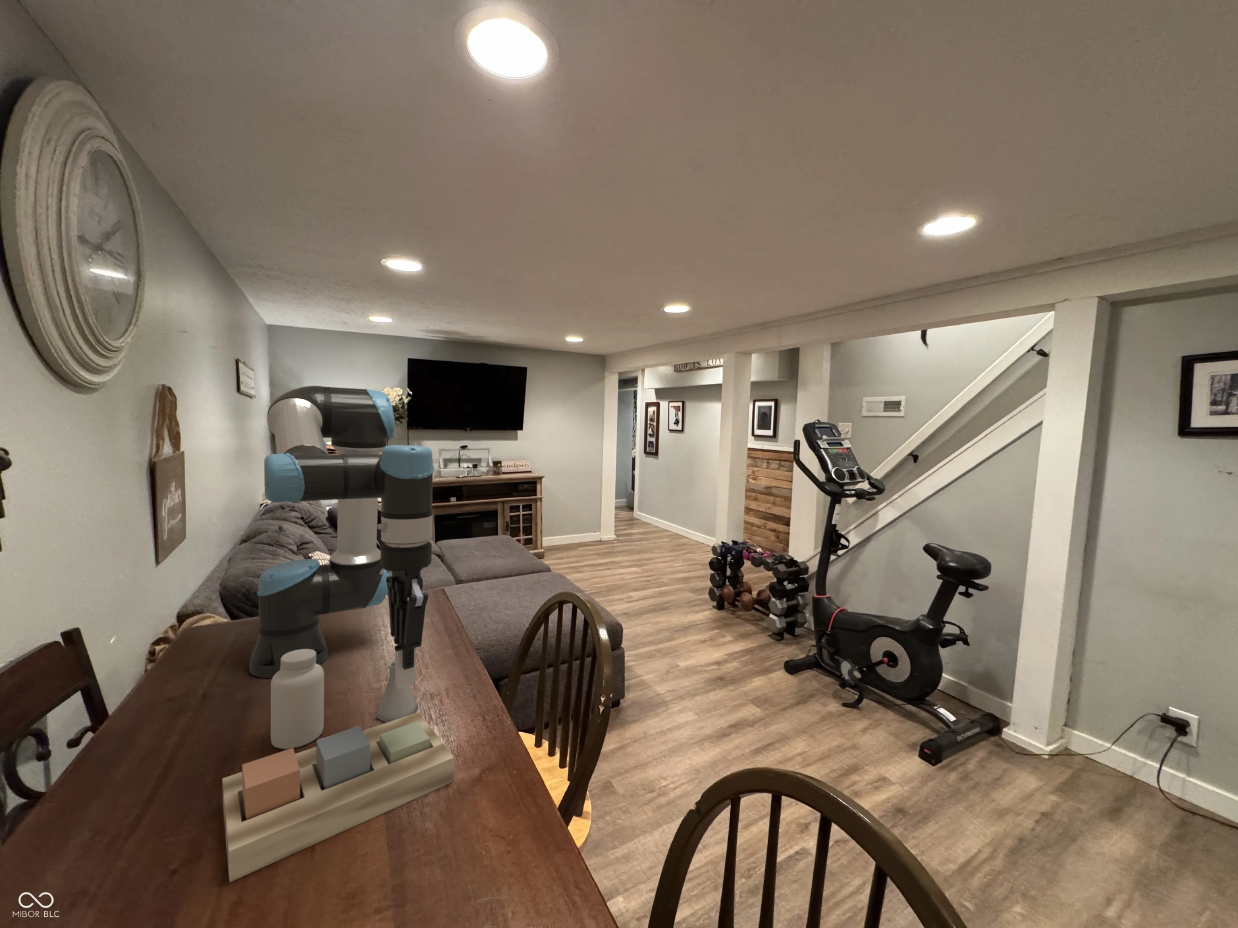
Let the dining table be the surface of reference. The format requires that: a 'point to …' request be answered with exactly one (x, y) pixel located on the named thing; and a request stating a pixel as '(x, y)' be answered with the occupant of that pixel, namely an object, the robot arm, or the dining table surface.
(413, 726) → the button sage
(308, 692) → the pill bottle
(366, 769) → the button slate
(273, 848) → the panel
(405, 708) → the flask
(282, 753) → the button terracotta
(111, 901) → the dining table surface
